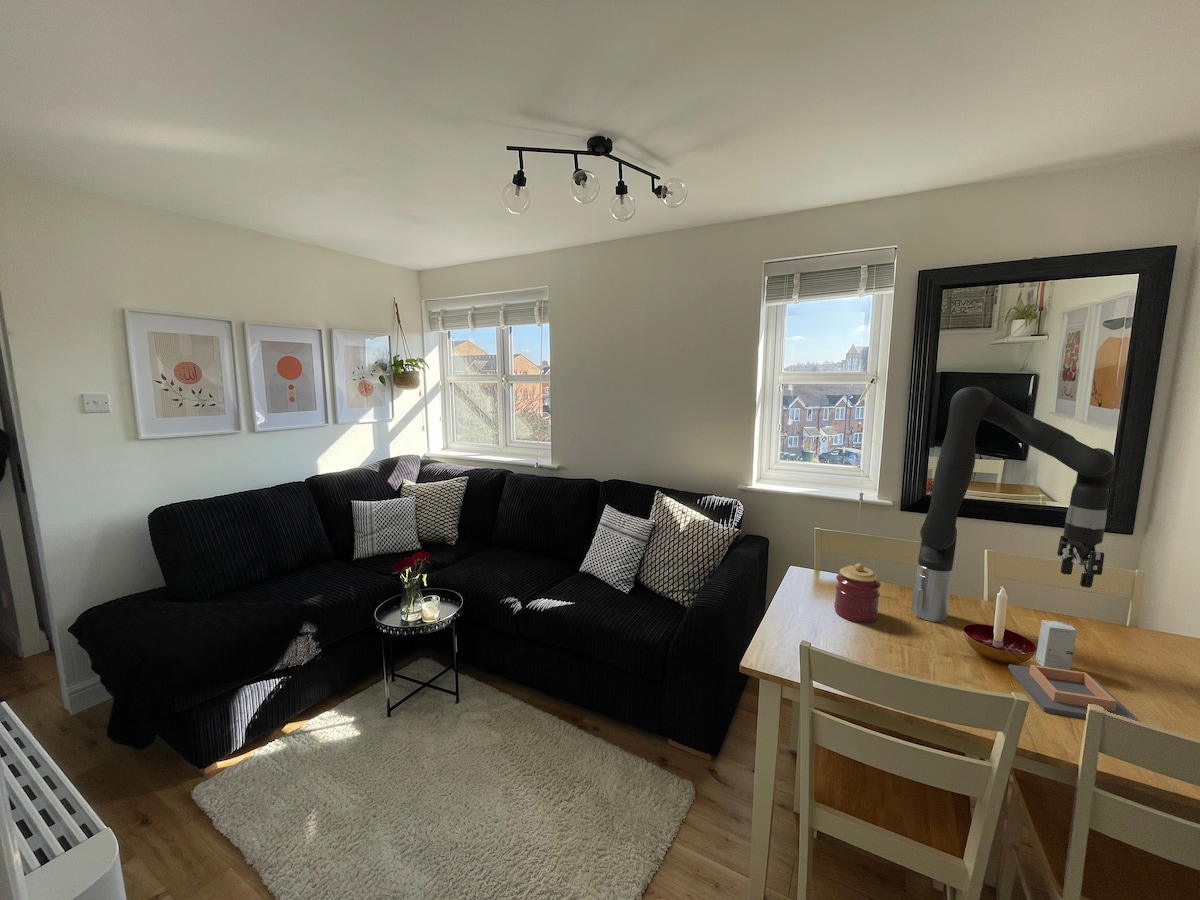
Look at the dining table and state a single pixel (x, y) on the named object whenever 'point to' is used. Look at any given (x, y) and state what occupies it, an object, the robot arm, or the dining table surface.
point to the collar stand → (1066, 691)
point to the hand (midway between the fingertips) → (1075, 580)
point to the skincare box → (1056, 645)
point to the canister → (857, 594)
